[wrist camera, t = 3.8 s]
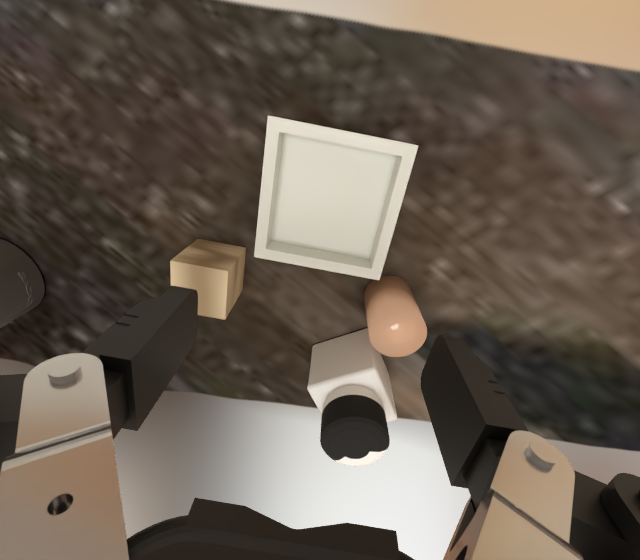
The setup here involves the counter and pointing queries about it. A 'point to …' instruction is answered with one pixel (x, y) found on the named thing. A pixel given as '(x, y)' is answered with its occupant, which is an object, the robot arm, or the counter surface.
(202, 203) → the counter surface
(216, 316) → the maple block
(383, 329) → the peach rounded capsule
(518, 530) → the robot arm
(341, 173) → the white tray
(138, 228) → the counter surface
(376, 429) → the medicine bottle
